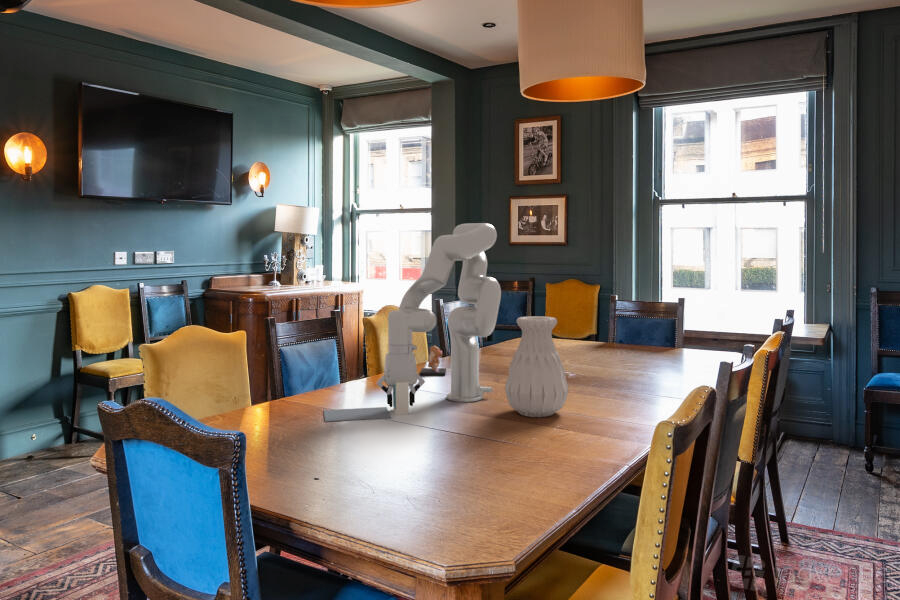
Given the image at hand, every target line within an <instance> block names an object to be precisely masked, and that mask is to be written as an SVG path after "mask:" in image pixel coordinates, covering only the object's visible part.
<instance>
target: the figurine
mask: <svg viewBox="0 0 900 600" xmlns="http://www.w3.org/2000/svg"><path fill="white" fill-rule="evenodd" d="M442 356H443V351H442V350H441V349H440V348H439V347H438V346H436V344H434V345H433V346H431V347H430V348H429V355H428V359H427V362H428V363H427V364H428V365H427V367H424V368H423V367H422V368H421V370H420V372H419V373H420V375H419V376H420V377H446V373H447V368H446V367H445V368H443V367H442V368H441V367H440V366H439V365H440V364H441V363H440V360H441V359H442Z"/></svg>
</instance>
